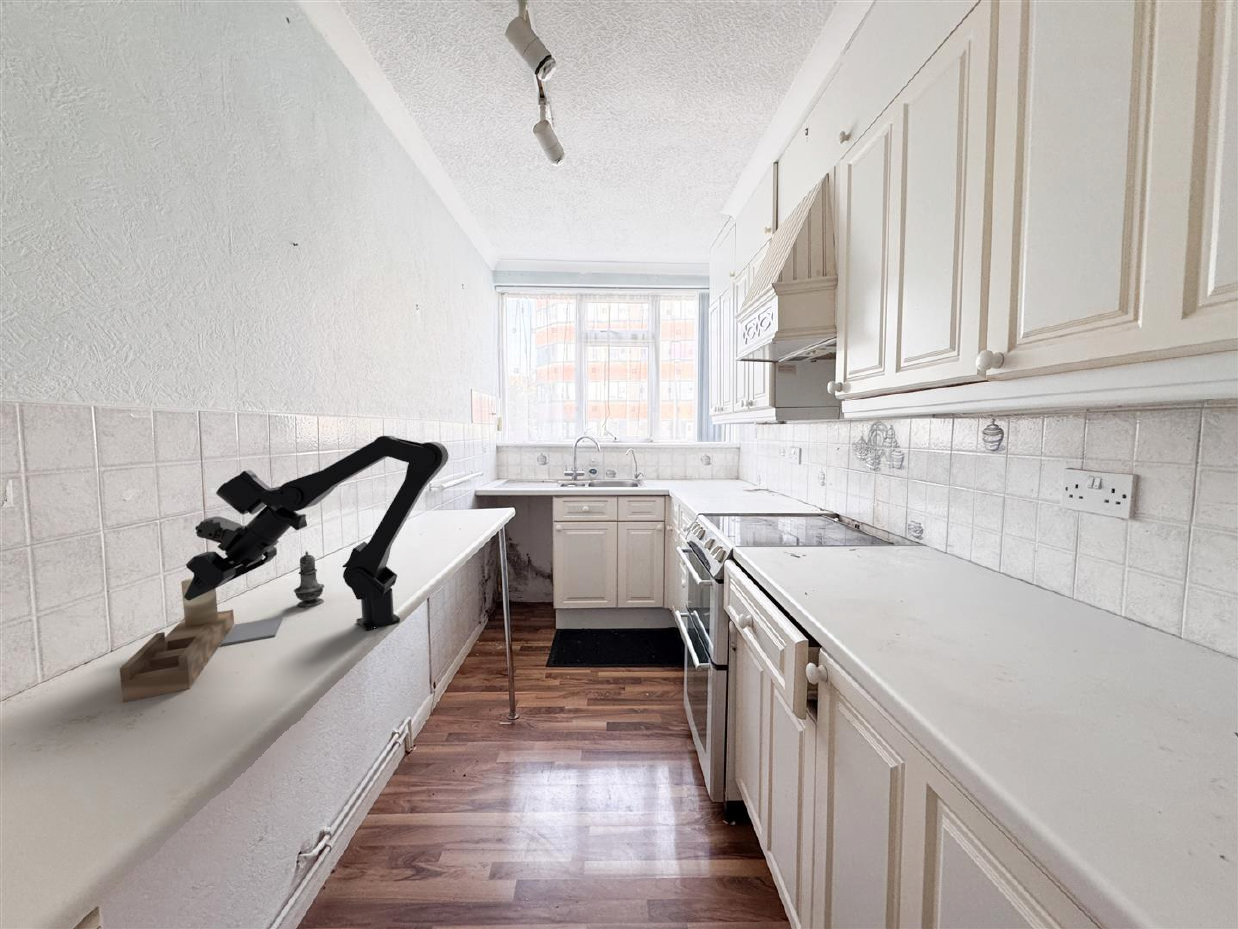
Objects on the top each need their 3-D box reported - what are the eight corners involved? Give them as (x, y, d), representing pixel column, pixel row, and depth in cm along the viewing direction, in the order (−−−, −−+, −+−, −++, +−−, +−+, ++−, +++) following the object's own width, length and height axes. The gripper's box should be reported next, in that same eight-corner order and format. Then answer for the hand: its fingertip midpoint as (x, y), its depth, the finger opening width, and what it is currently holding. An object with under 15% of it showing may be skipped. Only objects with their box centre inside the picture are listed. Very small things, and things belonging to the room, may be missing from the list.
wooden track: (186, 632, 95) (184, 607, 95) (234, 624, 99) (232, 600, 98) (122, 702, 70) (119, 668, 70) (189, 688, 74) (186, 656, 73)
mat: (234, 626, 98) (234, 624, 98) (283, 618, 101) (282, 616, 101) (221, 645, 89) (221, 643, 89) (275, 636, 92) (274, 634, 92)
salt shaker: (331, 599, 113) (327, 548, 112) (313, 608, 107) (309, 554, 106) (307, 598, 113) (304, 547, 112) (288, 608, 107) (284, 554, 106)
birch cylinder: (219, 620, 93) (215, 579, 92) (185, 627, 90) (182, 585, 89) (216, 613, 96) (213, 574, 96) (184, 620, 93) (180, 579, 93)
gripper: (256, 495, 102) (201, 550, 101) (194, 510, 83) (126, 577, 82) (300, 531, 103) (246, 585, 102) (249, 553, 85) (182, 619, 84)
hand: (203, 590), depth 93 cm, fingers open, 9 cm apart
